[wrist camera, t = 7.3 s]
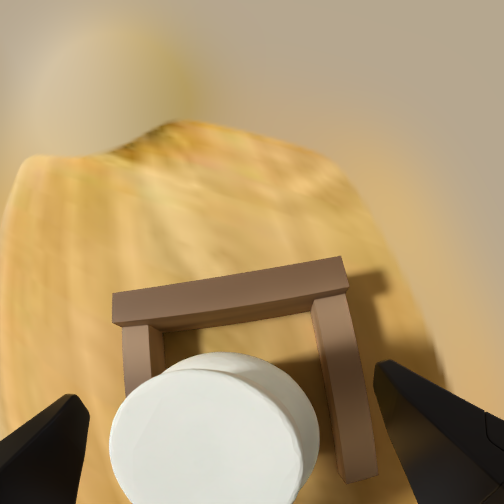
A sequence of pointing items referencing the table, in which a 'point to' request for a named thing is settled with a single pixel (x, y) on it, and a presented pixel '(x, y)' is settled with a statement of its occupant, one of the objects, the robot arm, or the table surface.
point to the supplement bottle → (215, 434)
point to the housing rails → (257, 308)
